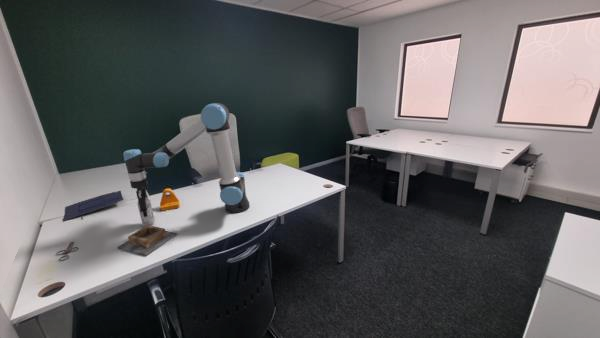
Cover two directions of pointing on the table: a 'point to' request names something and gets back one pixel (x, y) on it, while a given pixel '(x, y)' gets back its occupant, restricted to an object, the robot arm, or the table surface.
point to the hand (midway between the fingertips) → (147, 218)
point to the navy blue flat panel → (92, 204)
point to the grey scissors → (67, 251)
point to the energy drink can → (150, 211)
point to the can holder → (147, 240)
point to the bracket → (169, 200)
